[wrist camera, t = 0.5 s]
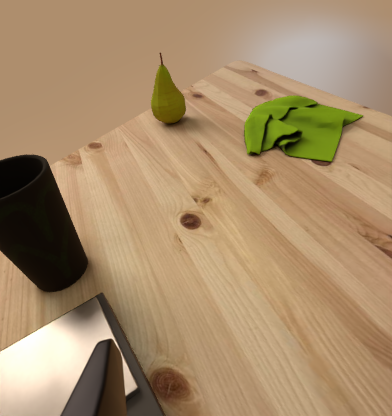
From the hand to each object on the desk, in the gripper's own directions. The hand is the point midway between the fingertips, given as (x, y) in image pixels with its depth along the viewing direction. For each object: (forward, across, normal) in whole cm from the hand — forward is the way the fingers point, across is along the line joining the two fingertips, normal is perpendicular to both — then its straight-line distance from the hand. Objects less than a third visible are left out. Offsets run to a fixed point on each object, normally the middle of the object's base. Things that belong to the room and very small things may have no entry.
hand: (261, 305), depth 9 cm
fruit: (+53, -1, +11) cm, 54 cm away
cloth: (+39, -20, +12) cm, 46 cm away
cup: (+21, +15, +14) cm, 29 cm away
